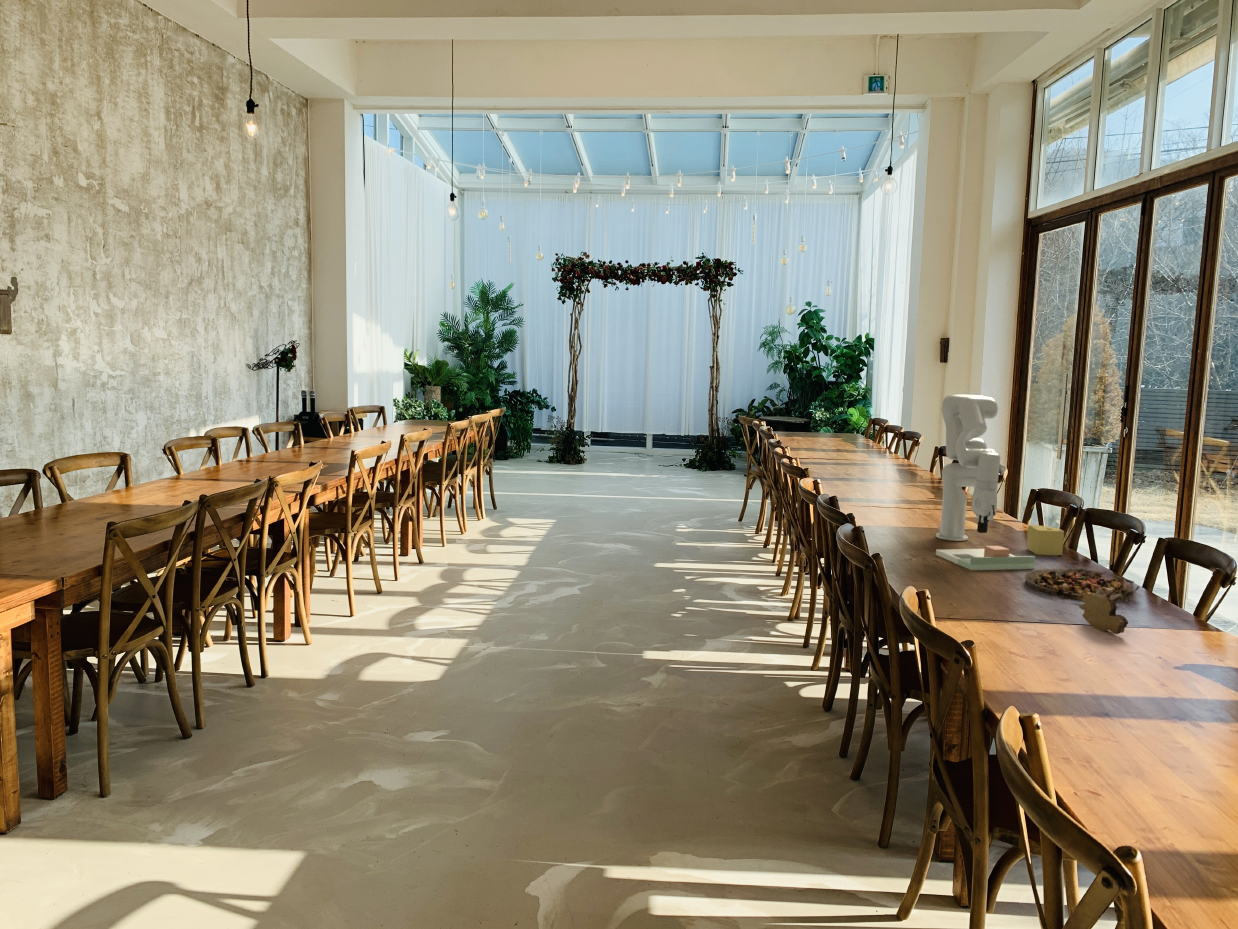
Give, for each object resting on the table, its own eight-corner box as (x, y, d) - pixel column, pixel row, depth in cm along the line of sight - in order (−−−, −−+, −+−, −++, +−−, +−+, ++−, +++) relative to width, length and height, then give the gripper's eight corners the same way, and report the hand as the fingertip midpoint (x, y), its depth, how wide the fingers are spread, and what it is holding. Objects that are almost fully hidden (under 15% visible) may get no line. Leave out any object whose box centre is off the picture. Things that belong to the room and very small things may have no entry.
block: (983, 559, 324) (984, 546, 323) (998, 559, 325) (999, 545, 324) (993, 563, 318) (994, 549, 317) (1008, 562, 319) (1009, 549, 318)
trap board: (935, 554, 338) (936, 543, 338) (994, 553, 343) (995, 542, 342) (971, 570, 315) (972, 558, 314) (1034, 568, 319) (1035, 556, 319)
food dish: (1153, 613, 271) (1156, 588, 270) (1038, 606, 278) (1040, 582, 277) (1114, 580, 305) (1116, 558, 304) (1012, 575, 312) (1014, 554, 311)
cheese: (1052, 550, 352) (1054, 525, 350) (1063, 556, 341) (1065, 531, 340) (1025, 549, 353) (1027, 524, 351) (1035, 555, 342) (1037, 530, 341)
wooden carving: (1132, 638, 242) (1135, 602, 241) (1119, 639, 241) (1122, 603, 240) (1085, 620, 258) (1088, 587, 257) (1072, 621, 257) (1075, 588, 255)
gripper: (966, 481, 337) (962, 527, 340) (989, 489, 323) (984, 537, 326) (984, 480, 338) (979, 527, 342) (1007, 489, 324) (1002, 537, 327)
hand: (982, 532), depth 334 cm, fingers closed
